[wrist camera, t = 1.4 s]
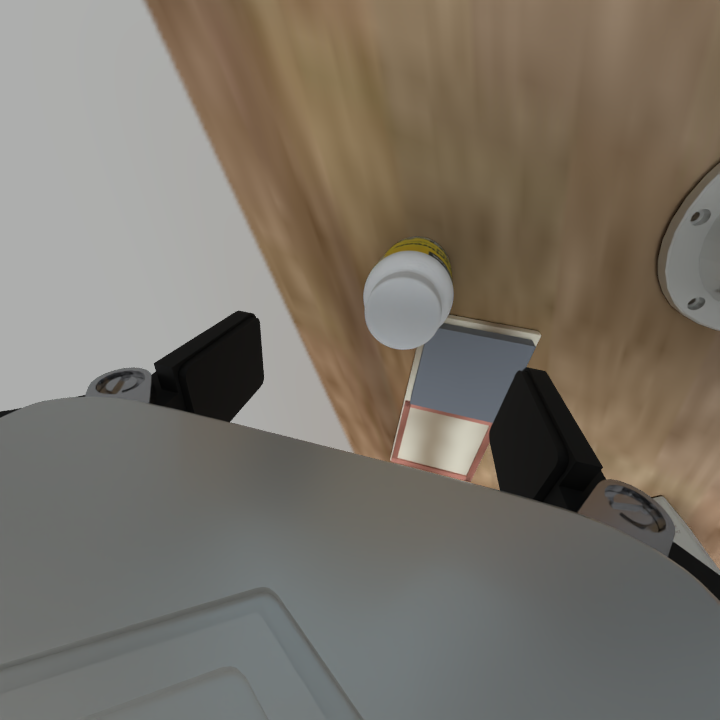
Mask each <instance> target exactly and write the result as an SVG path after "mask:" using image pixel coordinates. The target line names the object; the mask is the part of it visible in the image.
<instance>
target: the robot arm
mask: <svg viewBox="0 0 720 720" xmlns="http://www.w3.org/2000/svg"><path fill="white" fill-rule="evenodd" d="M693 215H694V217H693V218H692V216H693ZM691 218H692V219H691ZM658 279H659V282H660V286H661V289H662V292H663V294H664V295H665V297H666V299H667V300H668V302H669V303H670V305H671V306H672V307H674V308H675V309H676V310H677V311H678V312H679V313H681V314H682V315H683V316H685V317H687V318H689V319H691V320H692V321H694V322H696V323H698V324H700V325H703V326H705V327H708V328H711V329H714V330H717V331H720V163H719V164H718V165H717V166H715V167H714V168H713V169H712V170H711V171H710V172H709V173H708V174H707V175H706V176H705V177H704V178H703V179H702V180H701V181H700V182H699V184H698V185H697V186H696V187H695V188H694V189H693V191H692V192H691V193H690V194H689V195H688V196H687V197H686V199H685V200H684V202H683V203H682V205H681V206H680V208H679V209H678V211H677V213H676V214H675V216H674V217H673V219H672V220H671V223H670V225H669V227H668V229H667V232H666V234H665V236H664V238H663V240H662V245H661V249H660V253H659V258H658ZM154 366H155V369H156V372H155V373H153V374H152V375H151V373H150V372H149V371H147V370H145V369H142V368H123V369H118V370H114V371H111V372H108V373H105V374H103V375H101V376H99V377H98V378H96V379H95V380H94V381H93V382H91V384H90V385H89V387H88V389H87V392H86V395H83V396H78V397H70V398H61V399H54V400H48V401H42V402H38V403H35V404H32V405H29V406H26V407H24V408H19V409H14V410H8V411H1V412H0V720H720V575H719V574H718V573H716V572H715V571H713V570H712V569H711V568H709V567H708V566H707V565H705V564H704V563H702V562H701V561H700V560H698V559H697V558H695V557H694V556H693V555H691V554H690V553H689V552H687V551H686V550H684V549H683V548H682V547H680V546H679V545H678V544H676V543H675V542H673V539H674V536H675V526H674V524H673V521H672V519H671V517H670V516H669V515H668V514H667V512H666V511H665V510H664V509H663V508H662V507H661V506H660V505H659V504H658V503H657V502H656V501H655V500H654V499H652V498H651V497H650V496H648V495H647V494H645V493H644V492H643V491H641V490H639V489H637V488H635V487H633V486H632V485H629V484H627V483H624V482H621V481H617V480H612V479H608V480H606V478H605V477H604V475H603V473H602V472H601V469H602V468H603V467H602V465H601V463H600V462H599V460H598V458H597V457H596V455H595V453H594V452H593V450H592V448H591V447H590V445H589V443H588V441H587V440H586V438H585V436H584V435H583V433H582V431H581V430H580V428H579V426H578V425H577V423H576V421H575V420H574V418H573V416H572V415H571V413H570V411H569V409H568V408H567V406H566V404H565V403H564V401H563V399H562V398H561V396H560V394H559V393H558V391H557V389H556V388H555V386H554V384H553V383H552V381H551V379H550V378H549V376H548V374H547V373H546V372H545V371H542V370H537V369H532V368H527V367H526V368H524V370H523V371H520V370H519V371H517V373H516V374H515V376H514V379H513V381H512V383H511V385H510V387H509V389H508V391H507V394H506V396H505V398H504V400H503V402H502V404H501V406H500V409H499V411H498V413H497V415H496V417H495V419H494V422H493V424H492V426H491V428H490V431H489V440H490V445H491V450H492V454H493V459H494V464H495V469H496V473H497V478H498V483H499V488H500V490H496V489H492V488H488V487H484V486H481V485H477V484H473V483H469V482H465V481H461V480H457V479H453V478H449V477H445V476H442V475H438V474H434V473H430V472H426V471H422V470H418V469H414V468H410V467H406V466H402V465H398V464H394V463H390V462H386V461H382V460H378V459H374V458H370V457H366V456H362V455H358V454H354V453H350V452H346V451H342V450H338V449H334V448H330V447H326V446H322V445H318V444H314V443H311V442H307V441H302V440H298V439H294V438H291V437H287V436H282V435H279V434H275V433H271V432H266V431H263V430H259V429H255V428H251V427H247V426H242V425H239V424H235V423H230V421H231V420H232V419H233V418H234V417H235V415H236V414H237V413H238V412H239V411H240V410H241V408H242V407H243V406H244V405H245V404H246V403H247V402H248V401H249V399H250V398H251V397H252V396H253V395H254V394H255V392H256V391H257V390H258V389H259V388H260V387H261V385H262V384H263V380H264V370H263V358H262V346H261V332H260V321H259V319H258V318H256V316H255V315H254V314H252V313H247V312H243V311H237V312H235V313H233V314H232V315H230V316H228V317H227V318H225V319H224V320H222V321H221V322H219V323H217V324H216V325H214V326H213V327H211V328H210V329H208V330H206V331H205V332H203V333H201V334H200V335H198V336H197V337H195V338H194V339H192V340H190V341H189V342H187V343H185V344H184V345H182V346H181V347H179V348H178V349H176V350H174V351H173V352H171V353H170V354H168V355H166V356H165V357H163V358H162V359H160V360H158V361H157V362H155V363H154Z"/></svg>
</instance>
